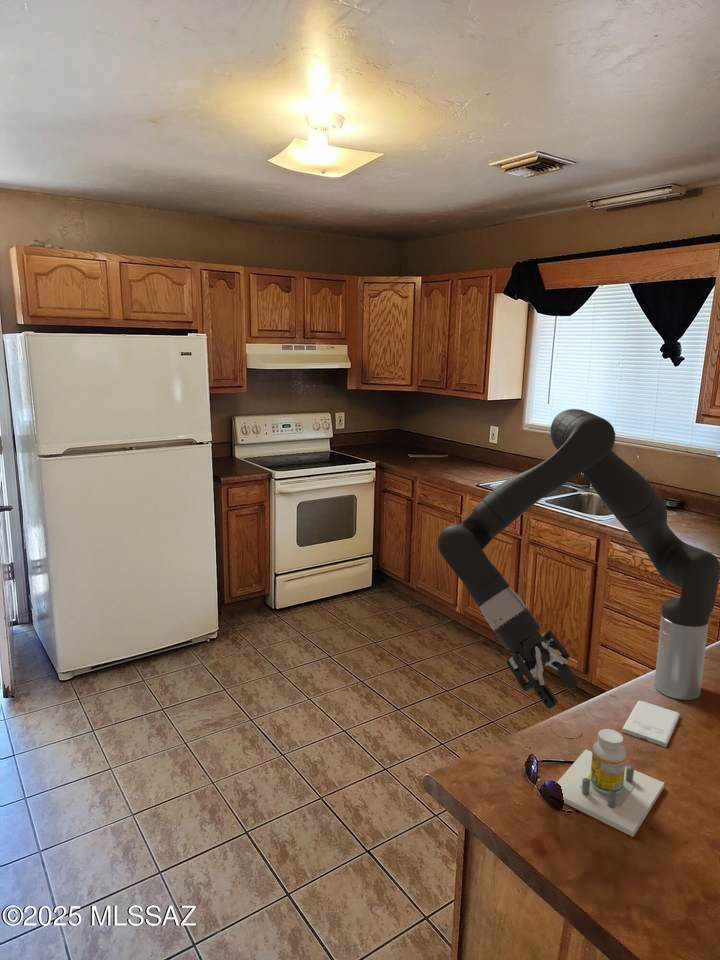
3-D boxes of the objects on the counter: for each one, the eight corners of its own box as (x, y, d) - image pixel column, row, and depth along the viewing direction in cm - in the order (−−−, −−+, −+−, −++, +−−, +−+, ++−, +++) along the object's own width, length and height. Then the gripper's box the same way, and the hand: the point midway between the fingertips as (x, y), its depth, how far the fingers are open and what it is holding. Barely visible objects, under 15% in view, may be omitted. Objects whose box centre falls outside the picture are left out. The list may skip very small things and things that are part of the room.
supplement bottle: (623, 799, 105) (628, 748, 103) (589, 791, 107) (593, 741, 105) (622, 779, 110) (627, 730, 108) (590, 771, 112) (594, 723, 110)
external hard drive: (679, 720, 130) (665, 750, 120) (637, 706, 135) (621, 734, 125) (680, 712, 130) (666, 742, 120) (638, 699, 135) (621, 727, 125)
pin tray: (585, 753, 119) (586, 737, 118) (663, 787, 109) (665, 770, 109) (549, 795, 108) (550, 777, 107) (633, 837, 98) (635, 817, 98)
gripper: (503, 620, 109) (562, 705, 104) (540, 596, 119) (596, 671, 114) (475, 639, 113) (531, 721, 108) (514, 614, 124) (566, 688, 118)
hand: (564, 695), depth 111 cm, fingers open, 8 cm apart
